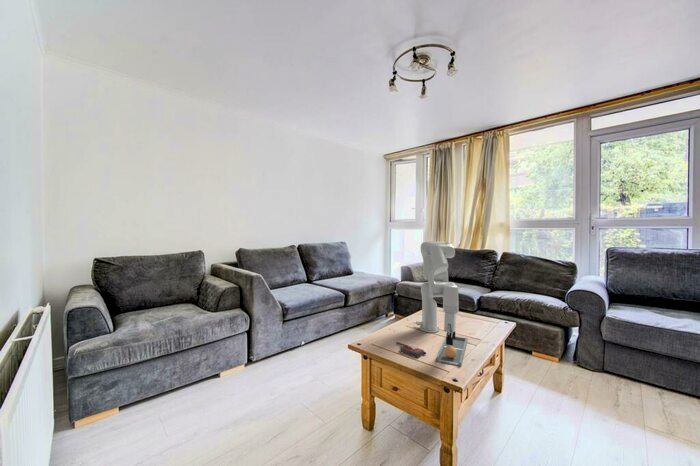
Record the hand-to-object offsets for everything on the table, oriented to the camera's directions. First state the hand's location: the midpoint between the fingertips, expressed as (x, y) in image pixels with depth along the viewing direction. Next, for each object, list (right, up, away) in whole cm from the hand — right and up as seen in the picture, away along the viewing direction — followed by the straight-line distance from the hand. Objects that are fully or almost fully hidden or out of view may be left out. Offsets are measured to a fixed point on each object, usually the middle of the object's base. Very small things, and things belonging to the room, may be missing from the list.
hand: (450, 341), depth 150 cm
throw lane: (+5, -9, +10) cm, 14 cm away
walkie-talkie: (-20, -10, +10) cm, 25 cm away
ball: (0, -6, +1) cm, 6 cm away
